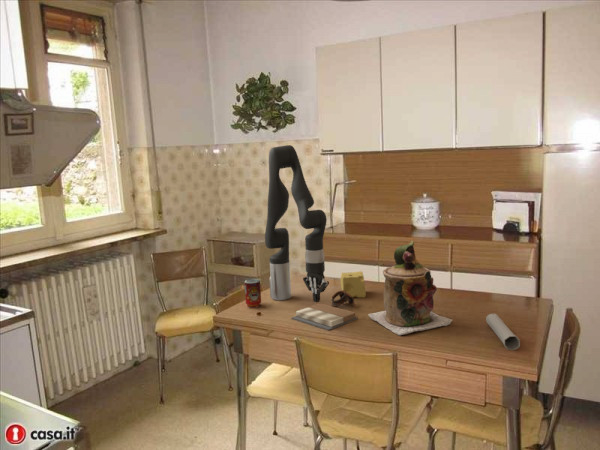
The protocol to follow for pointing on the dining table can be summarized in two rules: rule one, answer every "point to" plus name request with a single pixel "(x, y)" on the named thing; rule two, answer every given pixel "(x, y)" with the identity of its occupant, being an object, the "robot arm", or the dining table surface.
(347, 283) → the cheese
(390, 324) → the cookie jar
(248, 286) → the soda can
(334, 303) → the pottery mug
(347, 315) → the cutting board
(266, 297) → the dining table surface
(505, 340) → the tube
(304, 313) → the plank
